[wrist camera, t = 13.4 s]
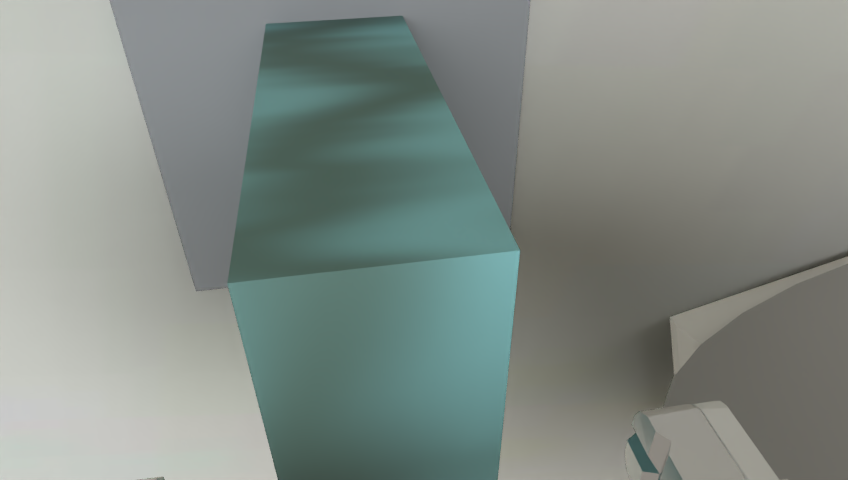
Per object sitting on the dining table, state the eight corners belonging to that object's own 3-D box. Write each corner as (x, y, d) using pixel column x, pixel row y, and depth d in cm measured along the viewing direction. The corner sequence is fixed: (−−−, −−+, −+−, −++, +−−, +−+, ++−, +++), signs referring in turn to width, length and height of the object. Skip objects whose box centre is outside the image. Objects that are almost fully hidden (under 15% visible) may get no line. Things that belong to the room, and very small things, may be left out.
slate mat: (529, -47, 18) (533, -44, 18) (505, 250, 25) (507, 256, 24) (106, -27, 17) (102, -24, 16) (197, 284, 23) (196, 291, 23)
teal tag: (402, 15, 18) (520, 249, 9) (409, 234, 23) (490, 547, 13) (265, 23, 18) (227, 283, 8) (301, 246, 22) (303, 580, 13)
